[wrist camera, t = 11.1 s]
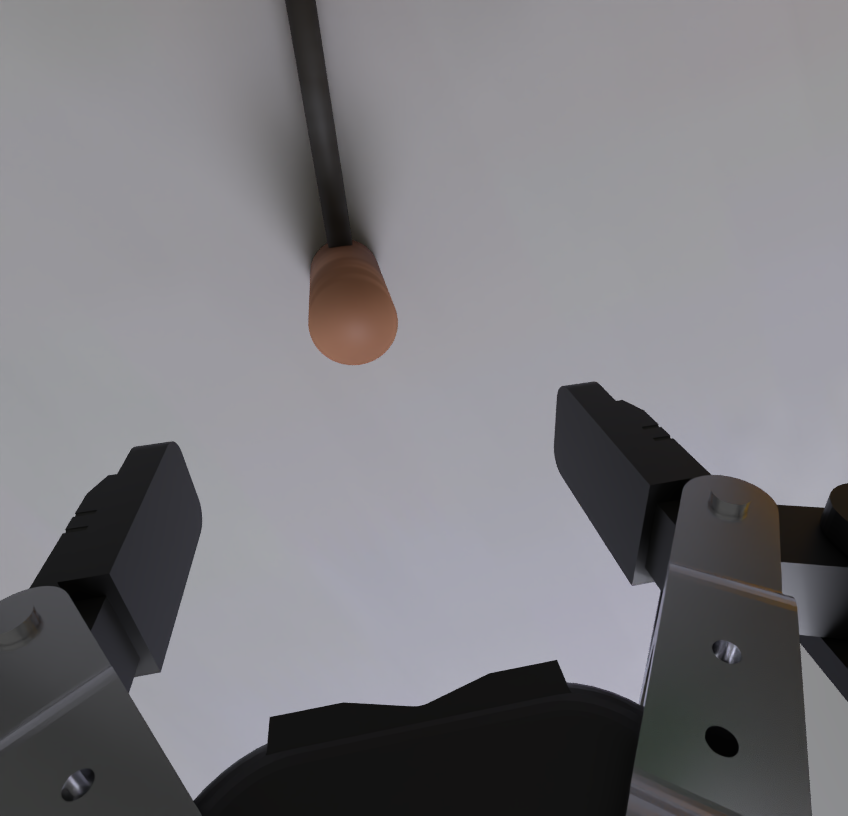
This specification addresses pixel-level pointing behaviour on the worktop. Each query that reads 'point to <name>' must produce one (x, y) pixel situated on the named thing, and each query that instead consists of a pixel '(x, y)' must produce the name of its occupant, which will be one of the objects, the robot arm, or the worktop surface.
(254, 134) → the worktop surface
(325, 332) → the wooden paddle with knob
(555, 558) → the worktop surface
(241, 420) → the worktop surface
